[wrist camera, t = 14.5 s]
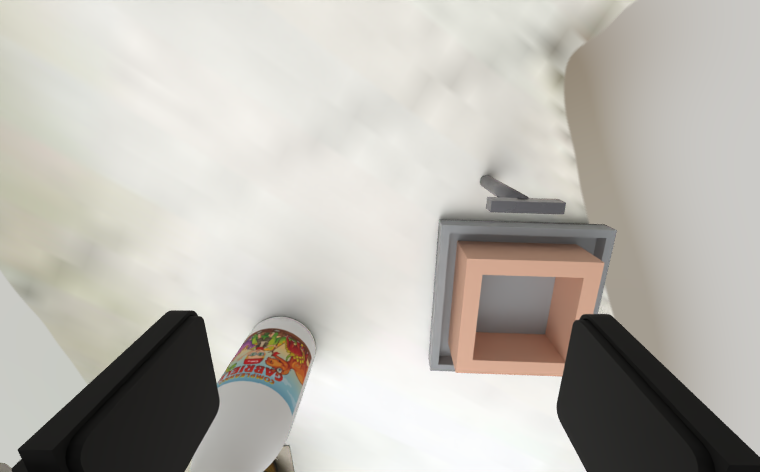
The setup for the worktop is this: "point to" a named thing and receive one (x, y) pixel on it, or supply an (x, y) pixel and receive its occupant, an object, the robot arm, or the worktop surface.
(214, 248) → the worktop surface
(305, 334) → the milk bottle
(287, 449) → the condiment
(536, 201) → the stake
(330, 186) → the worktop surface
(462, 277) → the ring
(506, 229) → the tray
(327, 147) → the worktop surface
